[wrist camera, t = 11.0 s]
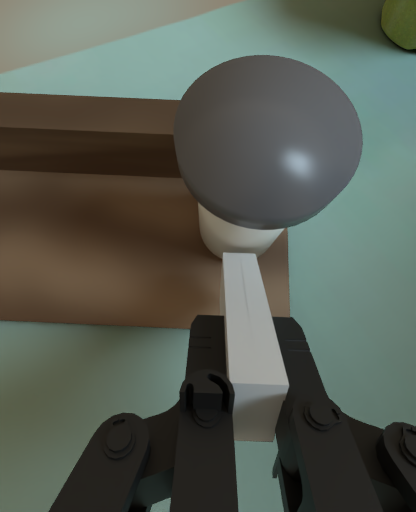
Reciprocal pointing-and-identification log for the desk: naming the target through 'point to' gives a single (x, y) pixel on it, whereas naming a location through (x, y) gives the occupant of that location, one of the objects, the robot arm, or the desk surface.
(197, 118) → the knob
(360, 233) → the desk surface
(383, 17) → the plant pot
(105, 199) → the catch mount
